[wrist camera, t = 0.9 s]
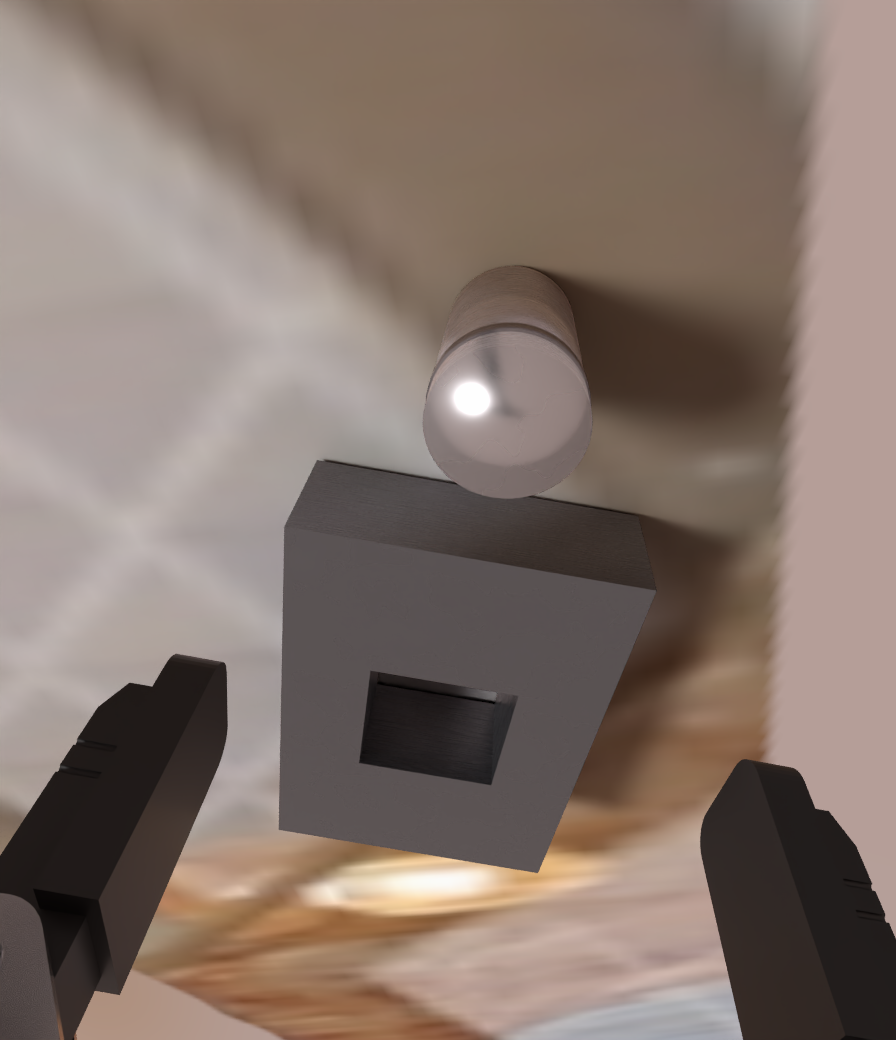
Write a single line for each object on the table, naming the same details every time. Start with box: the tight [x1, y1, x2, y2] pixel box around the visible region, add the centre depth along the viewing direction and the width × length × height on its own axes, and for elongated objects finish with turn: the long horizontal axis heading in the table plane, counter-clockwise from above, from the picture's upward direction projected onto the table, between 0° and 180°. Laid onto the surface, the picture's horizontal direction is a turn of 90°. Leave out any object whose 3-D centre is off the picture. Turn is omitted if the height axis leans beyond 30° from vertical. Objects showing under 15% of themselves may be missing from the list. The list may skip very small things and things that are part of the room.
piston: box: [423, 266, 593, 499], centre depth 23 cm, size 5×5×8 cm
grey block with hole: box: [279, 460, 657, 873], centre depth 34 cm, size 20×14×5 cm
